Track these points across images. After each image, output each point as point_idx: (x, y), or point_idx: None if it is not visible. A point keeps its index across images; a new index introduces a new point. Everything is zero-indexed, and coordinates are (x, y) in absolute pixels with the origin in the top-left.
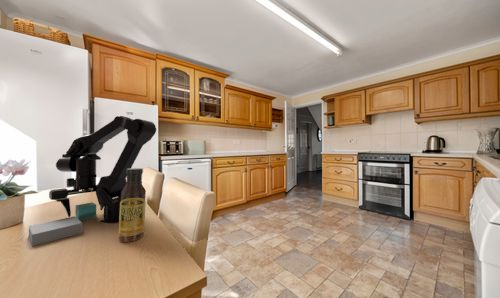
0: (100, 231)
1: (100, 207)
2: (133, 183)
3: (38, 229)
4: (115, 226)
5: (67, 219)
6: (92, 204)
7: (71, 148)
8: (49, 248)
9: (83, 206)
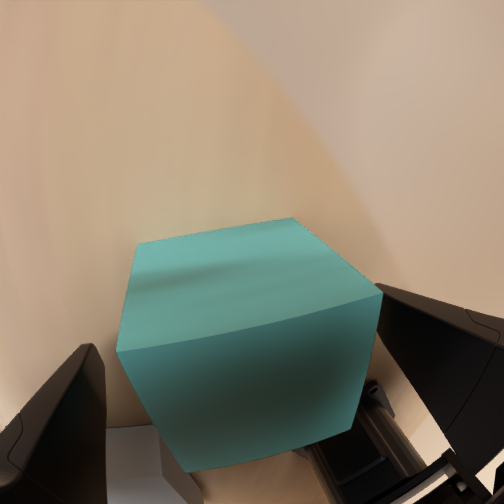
0: (253, 493)
1: (382, 310)
2: None
3: None
4: (302, 476)
5: (136, 493)
6: (325, 425)
7: None
8: None
9: (230, 460)
